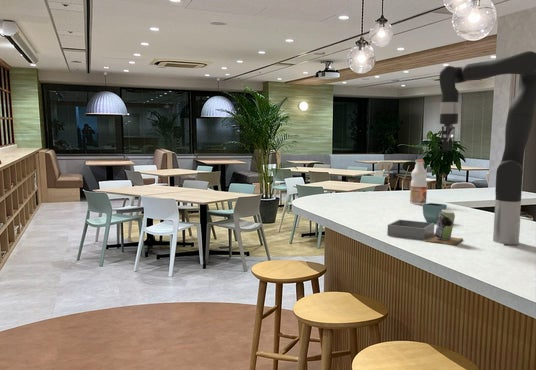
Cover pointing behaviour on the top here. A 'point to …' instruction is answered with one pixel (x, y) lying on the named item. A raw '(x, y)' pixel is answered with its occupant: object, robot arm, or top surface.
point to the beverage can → (445, 224)
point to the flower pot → (432, 211)
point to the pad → (450, 241)
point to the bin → (411, 229)
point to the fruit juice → (418, 184)
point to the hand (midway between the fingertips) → (447, 150)
